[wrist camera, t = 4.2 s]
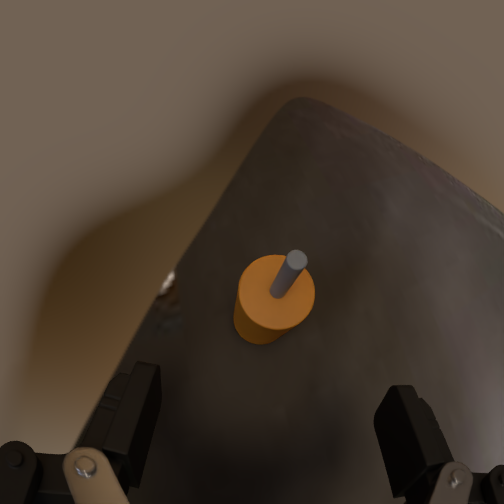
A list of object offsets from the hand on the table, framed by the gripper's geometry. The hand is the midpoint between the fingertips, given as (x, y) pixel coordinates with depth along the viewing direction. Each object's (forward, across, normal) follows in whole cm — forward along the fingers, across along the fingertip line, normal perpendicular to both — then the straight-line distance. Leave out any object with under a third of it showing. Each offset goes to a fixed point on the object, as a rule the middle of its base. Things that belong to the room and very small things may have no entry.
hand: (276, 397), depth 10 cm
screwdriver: (+10, 0, +4) cm, 11 cm away
